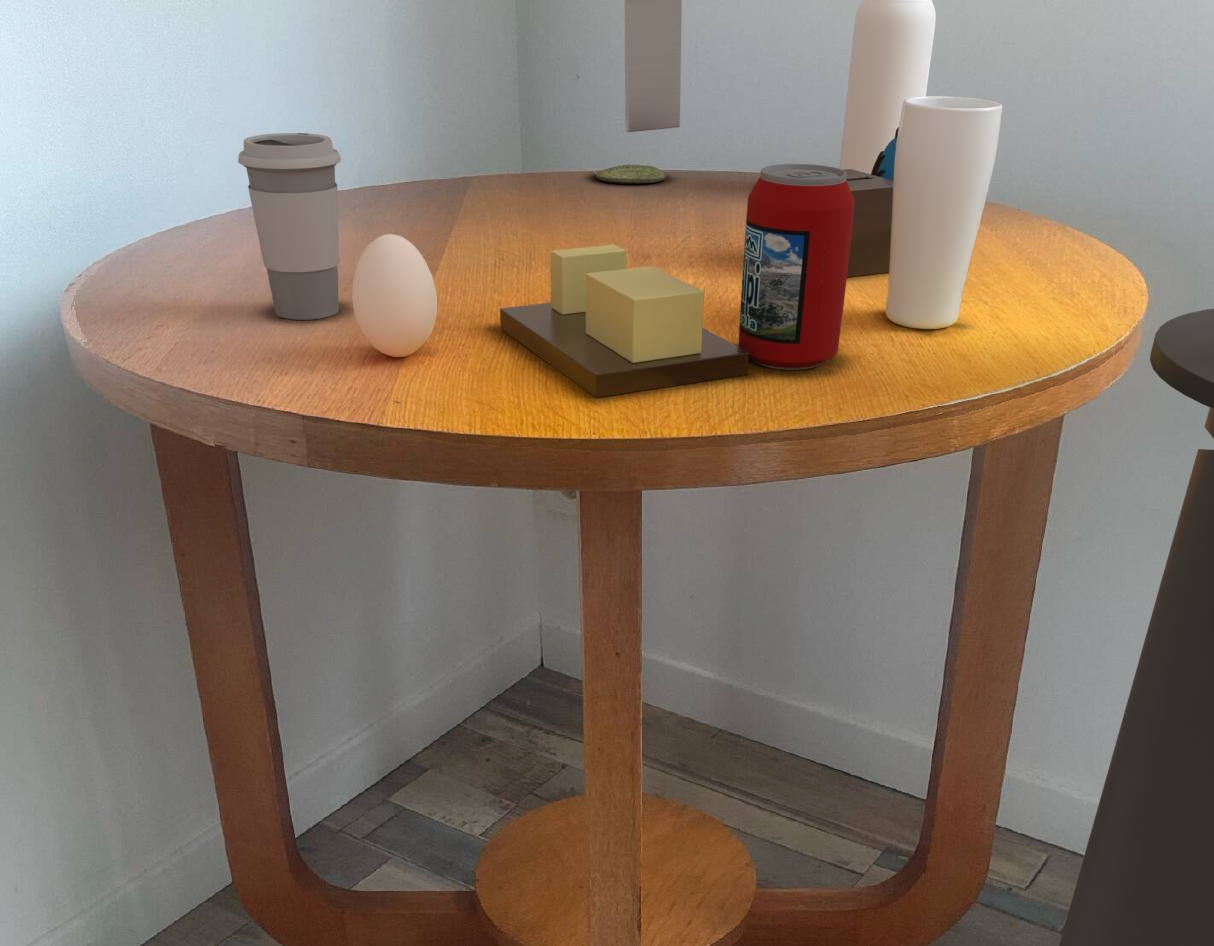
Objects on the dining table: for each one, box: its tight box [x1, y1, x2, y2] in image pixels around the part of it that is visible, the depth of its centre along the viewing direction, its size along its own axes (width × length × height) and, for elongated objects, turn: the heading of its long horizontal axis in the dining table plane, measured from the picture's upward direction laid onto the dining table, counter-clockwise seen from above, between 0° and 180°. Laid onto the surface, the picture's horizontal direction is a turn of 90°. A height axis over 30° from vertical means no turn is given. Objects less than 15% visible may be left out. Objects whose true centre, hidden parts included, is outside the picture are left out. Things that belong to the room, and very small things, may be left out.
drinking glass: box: [885, 95, 1003, 330], centre depth 86 cm, size 7×7×15 cm
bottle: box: [838, 0, 937, 174], centre depth 123 cm, size 8×8×30 cm
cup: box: [237, 132, 342, 321], centre depth 87 cm, size 7×7×12 cm
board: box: [499, 302, 750, 398], centre depth 82 cm, size 16×11×2 cm
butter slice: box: [550, 244, 627, 315], centre depth 85 cm, size 2×5×4 cm, turn 116°
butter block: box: [586, 265, 705, 363], centre depth 78 cm, size 7×5×4 cm
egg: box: [351, 233, 438, 358], centre depth 79 cm, size 6×6×8 cm
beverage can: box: [737, 163, 855, 371], centre depth 79 cm, size 7×7×12 cm
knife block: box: [844, 169, 893, 278], centre depth 102 cm, size 8×7×7 cm
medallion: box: [594, 164, 667, 185], centre depth 137 cm, size 8×8×1 cm
